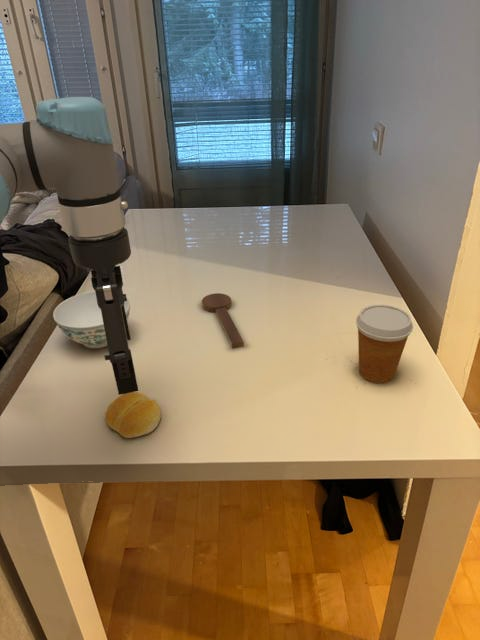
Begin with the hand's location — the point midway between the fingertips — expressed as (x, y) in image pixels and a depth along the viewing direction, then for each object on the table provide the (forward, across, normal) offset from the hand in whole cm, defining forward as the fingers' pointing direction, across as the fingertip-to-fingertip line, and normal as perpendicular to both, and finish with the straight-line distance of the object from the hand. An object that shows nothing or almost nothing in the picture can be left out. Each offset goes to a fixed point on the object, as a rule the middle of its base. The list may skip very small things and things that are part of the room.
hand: (125, 363), depth 71 cm
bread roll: (+12, 0, 0) cm, 12 cm away
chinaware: (+12, +27, +5) cm, 30 cm away
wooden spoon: (+12, +26, -22) cm, 36 cm away
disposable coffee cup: (+12, -1, -44) cm, 45 cm away
